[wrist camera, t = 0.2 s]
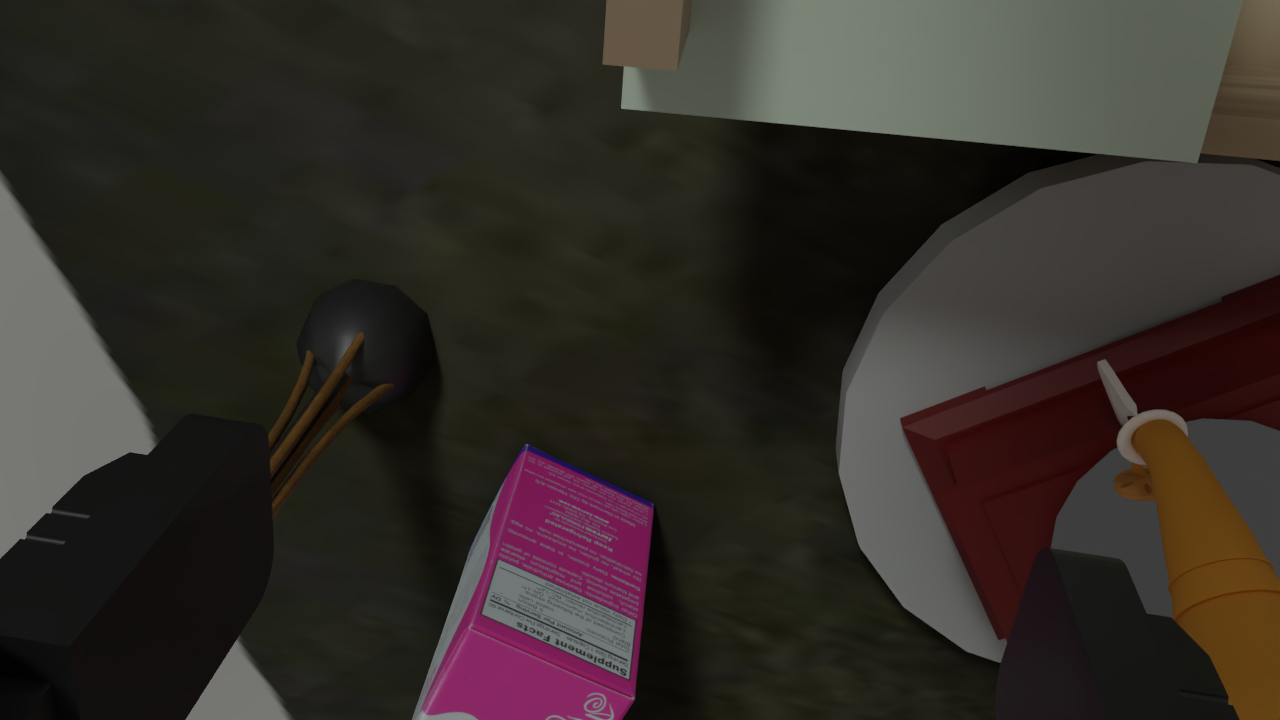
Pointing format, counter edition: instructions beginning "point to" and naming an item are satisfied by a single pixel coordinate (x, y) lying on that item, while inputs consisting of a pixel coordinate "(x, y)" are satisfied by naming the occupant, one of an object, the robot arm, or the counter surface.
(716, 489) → the counter surface
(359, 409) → the wooden tabletop sculpture
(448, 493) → the counter surface
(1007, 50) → the sliding lid
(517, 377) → the counter surface
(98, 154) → the counter surface
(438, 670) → the supplement box
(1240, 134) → the wooden box
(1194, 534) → the gramophone
